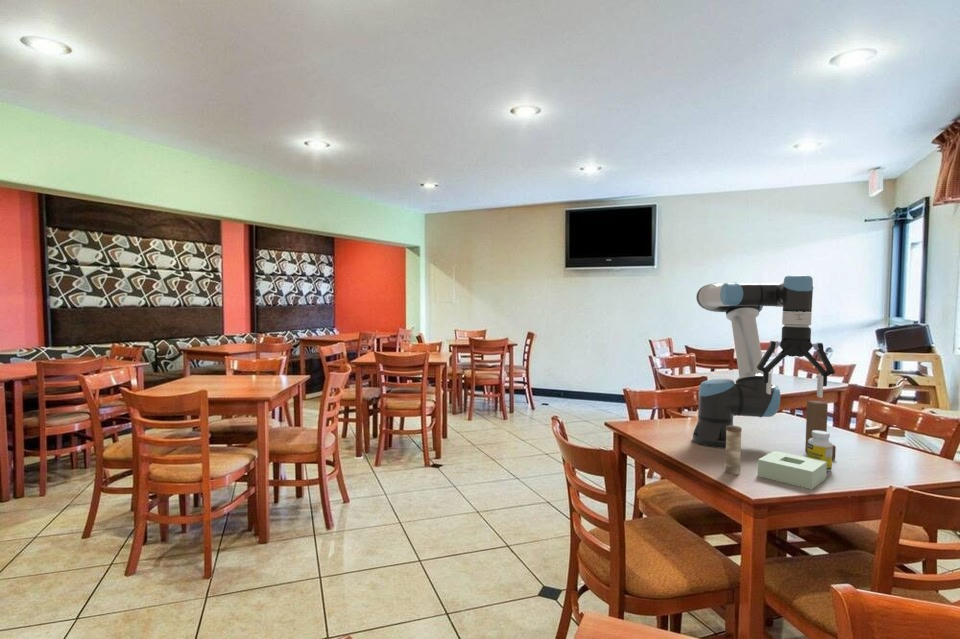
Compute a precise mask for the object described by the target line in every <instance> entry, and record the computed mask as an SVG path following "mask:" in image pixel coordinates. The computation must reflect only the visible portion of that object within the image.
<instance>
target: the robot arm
mask: <svg viewBox="0 0 960 639" xmlns="http://www.w3.org/2000/svg"><path fill="white" fill-rule="evenodd" d="M813 279H814V278H813V276H811V275H804V274H802V275H797V274H794V275H786V276H785V277H784V278H783V282H781V283H779V282H764V283H763V282H725V283H722V282H721V283H718V282H717V283H716V282H714V283H708V284H705V285H703V286H702V287H700V288H699V290H698V291H697V293H696V297H695V299H696V302H697V304H698V305H699V307H700V308H703V309H704V310H705V311H709V312H714V313H715V312H716V313H725V315H726V316H725V317H726V319H727V320H729V321H731V328H732V329H731V330H732V336H733V340H734V341H733V342H734V349H735V354H736V355H735V356H736V363H737V369H738V370H737V371H738V378H736V380H735V381H734V380H733V379H727V378H717V379H715V378H714V379H708V380H704V381H702V382H701V383H700V385H699V387H698V388H699V390H698V417H697V418H698V419H697V423H696V425H695V428H694V430H693V433H692V441H693V442H694V443H695V444H698V445H700V446H701V445H702V446H705V447H710V448H717V449H718V448H719V449H726V426H730V425H731V426H734V417H735V416H737V417H738V416H740V417H752V418H753V417H757V418H770V417H771V418H772V417H774V416H775V415H776V414H777V413H778V411H779V408H780V404H781V391H780V388H779V387H778V385H775V384H772V380H773V379H772V378H773V377H772V375H773V374H772V372H771V371H772V370H773V369H774V368H775V367H776V366H777V365H778V364H779V363H780V362H781V361H782V360H783V359H784V358H786V357H787V356H789V357H798V358H802V357H805V359H807V360H808V362H809V363H810V364H811V365H812V366H813V367H814V368H815V369H816V371H818V372H819V374H817V381H816V382H817V383H816V384H817V386H816V396H817V398H819V399H820V398H821V399H823V396H824V395H823V394H824V387H827V385H828V377H829V376H830V375H835V373H836V371H835V369H834V367H833V365H832V364H831V361H830V360H829V358H828V356H827V353H826V352H825V351H824V344H823V342H816V343H813V342H812V338H811V337H812V328H811V327H810V326H811V325H812V312H813V293H814V284H813V283H814V282H813ZM763 307H777V308H778V307H779V308H782V318H781V319H782V320H781V322H782V325H783V326H782V327H781V340H780V341H775V340H770V341H769V344H768V348H767V350H766V351H765V353H764V355H763V354H762V348H761V343H760V336H759V329H758V324H757V319H756V318H757V317H758V316H759V315H760V312H761V311H762V310H763ZM779 347H780V348H781V349H782V350H780V352H779V353H778V354H777V355H776V356H775V357H774V358H773V359H771V361H770V362H769V363H768V361H769V360H770V358H771V356H772V355H773V353H774V351H775V349H778V348H779ZM812 348H813V349H814V350H816V353H817V355H818V356H819V358H820V361H821V362H822V364H823V365H824V367H823V366H822V365H821V364H820V363H819V362H818V361H817V360H816V359H815V357H814V356H813V355H812V354H811V352H810V350H811V349H812ZM766 364H767V365H766ZM825 369H826V370H825Z"/></svg>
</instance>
